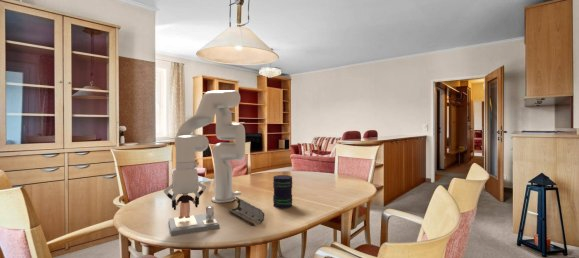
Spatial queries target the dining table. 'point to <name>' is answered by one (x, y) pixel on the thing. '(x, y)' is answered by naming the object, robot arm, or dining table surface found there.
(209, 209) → the pin
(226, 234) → the dining table surface
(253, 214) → the model building
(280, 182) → the storage jar
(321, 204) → the dining table surface
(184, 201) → the grandmother figurine
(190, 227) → the board
